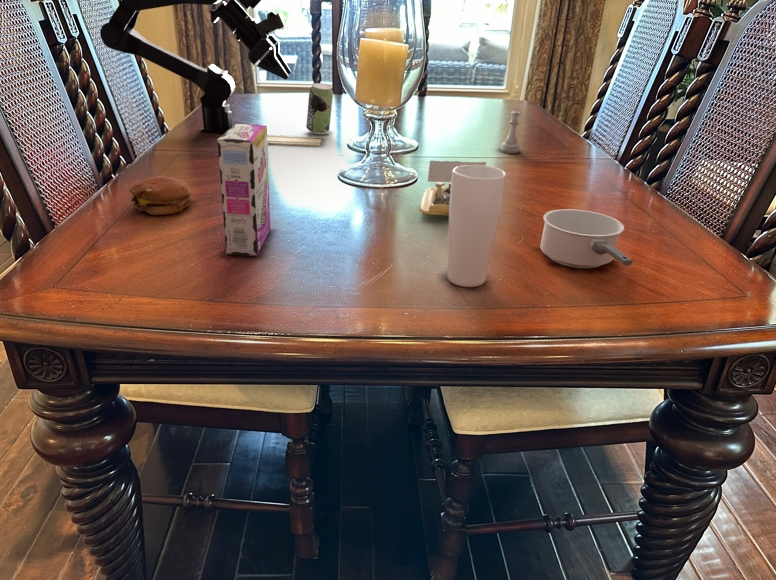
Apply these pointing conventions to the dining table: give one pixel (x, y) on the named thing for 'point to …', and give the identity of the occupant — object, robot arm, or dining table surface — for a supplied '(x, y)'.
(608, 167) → the dining table surface
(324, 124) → the beverage can
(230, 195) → the white pink box
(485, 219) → the drinking glass
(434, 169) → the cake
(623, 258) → the saucepan
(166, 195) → the burger
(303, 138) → the towel
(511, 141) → the chess piece
